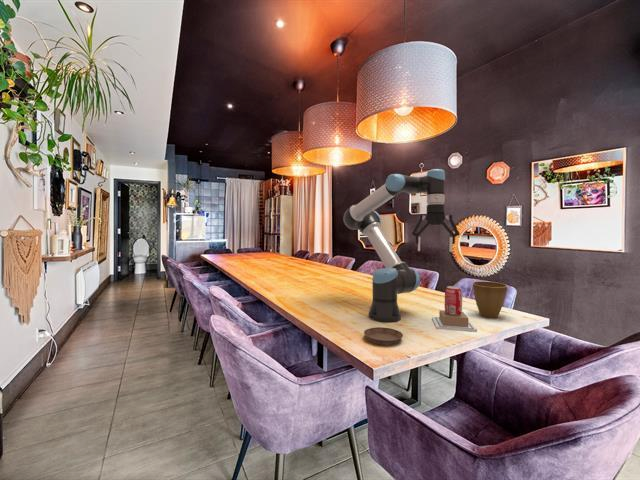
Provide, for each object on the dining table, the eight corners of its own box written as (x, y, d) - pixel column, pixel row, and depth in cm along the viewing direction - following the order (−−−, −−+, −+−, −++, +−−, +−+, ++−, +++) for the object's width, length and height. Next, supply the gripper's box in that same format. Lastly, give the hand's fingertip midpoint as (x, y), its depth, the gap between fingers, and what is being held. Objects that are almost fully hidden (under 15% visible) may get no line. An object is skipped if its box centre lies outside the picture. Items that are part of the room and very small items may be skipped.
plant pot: (468, 311, 154) (468, 280, 154) (499, 312, 151) (500, 281, 151) (477, 319, 140) (477, 286, 139) (511, 321, 137) (512, 287, 136)
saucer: (375, 330, 125) (375, 324, 125) (409, 339, 115) (409, 332, 115) (356, 340, 114) (356, 333, 113) (392, 351, 104) (392, 343, 104)
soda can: (458, 312, 135) (458, 285, 134) (464, 316, 128) (464, 289, 127) (442, 311, 135) (442, 285, 135) (447, 316, 128) (447, 288, 128)
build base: (436, 328, 127) (436, 317, 127) (431, 319, 140) (432, 308, 140) (477, 331, 123) (477, 319, 123) (468, 321, 137) (468, 310, 137)
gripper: (407, 204, 133) (406, 251, 134) (467, 203, 127) (466, 252, 128) (406, 205, 140) (405, 250, 141) (463, 204, 134) (462, 251, 135)
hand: (434, 251), depth 134 cm, fingers open, 13 cm apart
